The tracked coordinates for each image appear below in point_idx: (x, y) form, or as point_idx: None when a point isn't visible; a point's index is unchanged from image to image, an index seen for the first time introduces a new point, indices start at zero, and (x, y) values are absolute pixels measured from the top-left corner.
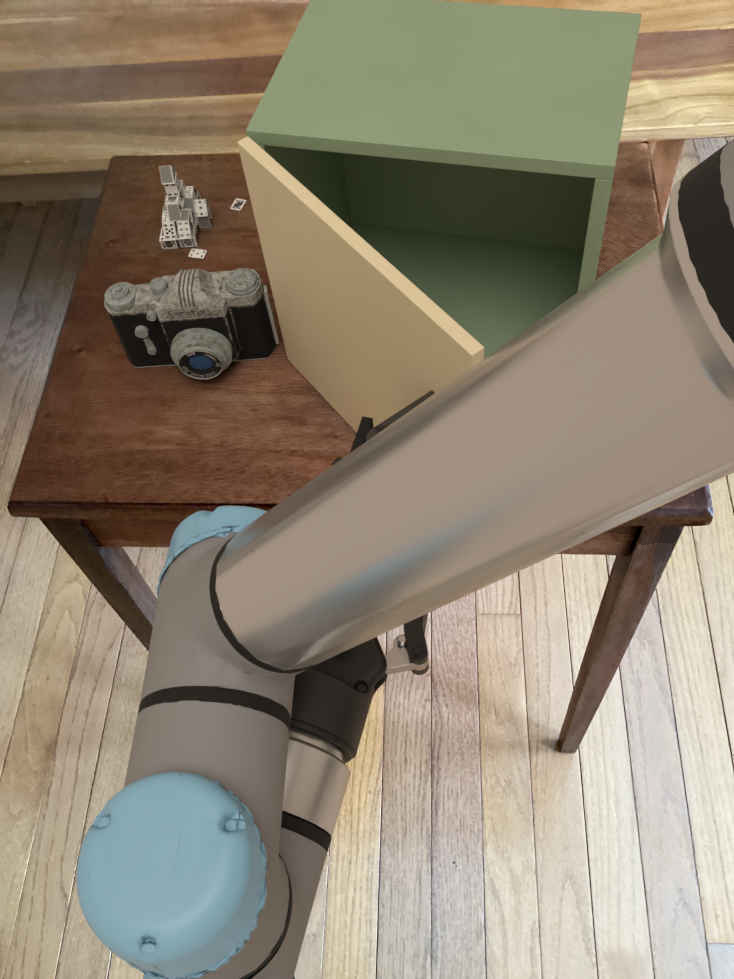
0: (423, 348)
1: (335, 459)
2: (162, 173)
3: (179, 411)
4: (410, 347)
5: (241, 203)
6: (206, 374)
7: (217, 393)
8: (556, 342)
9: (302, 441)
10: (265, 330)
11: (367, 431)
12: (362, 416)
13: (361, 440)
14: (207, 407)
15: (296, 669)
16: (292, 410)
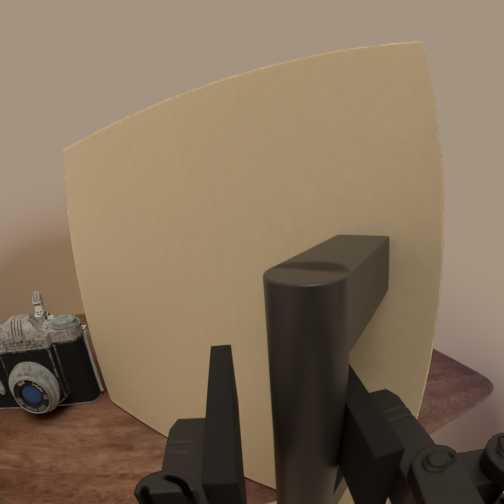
0: (313, 140)
1: (175, 422)
2: (33, 297)
3: (18, 440)
4: (281, 174)
5: (83, 327)
6: (38, 408)
7: (50, 427)
8: None
9: (131, 464)
10: (87, 372)
11: (230, 360)
12: (211, 346)
13: (224, 374)
14: (41, 438)
15: None
16: (118, 438)
